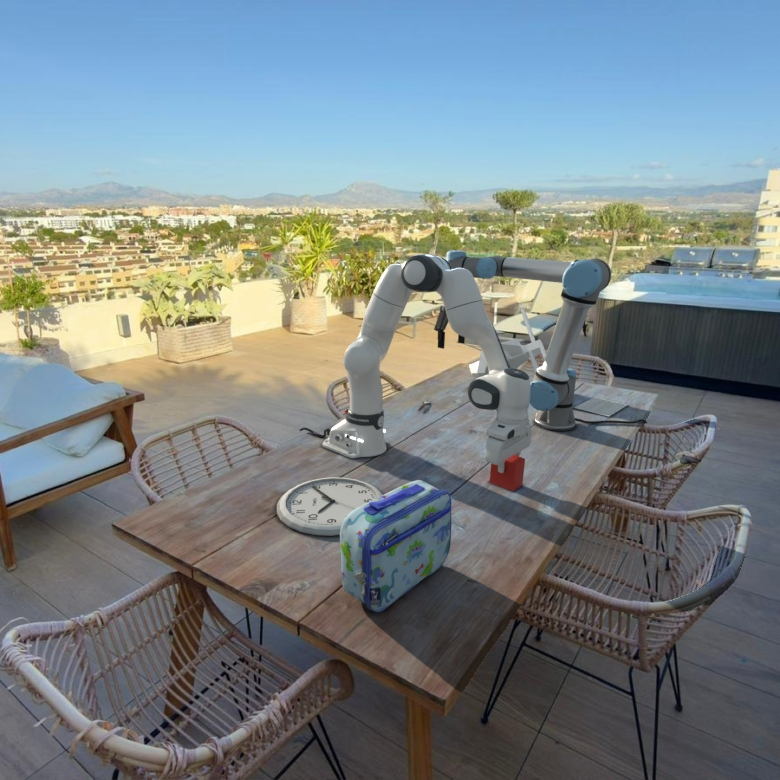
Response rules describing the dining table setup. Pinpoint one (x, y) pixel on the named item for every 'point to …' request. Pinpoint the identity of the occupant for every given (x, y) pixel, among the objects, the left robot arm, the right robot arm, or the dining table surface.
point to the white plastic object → (513, 353)
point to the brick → (509, 473)
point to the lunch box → (394, 543)
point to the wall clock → (323, 504)
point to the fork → (425, 403)
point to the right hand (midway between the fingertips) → (451, 345)
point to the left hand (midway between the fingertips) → (507, 468)
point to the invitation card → (601, 406)
